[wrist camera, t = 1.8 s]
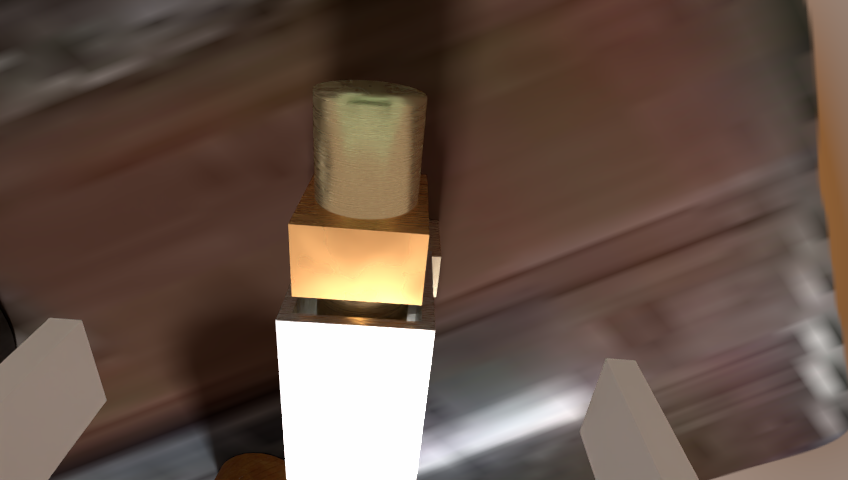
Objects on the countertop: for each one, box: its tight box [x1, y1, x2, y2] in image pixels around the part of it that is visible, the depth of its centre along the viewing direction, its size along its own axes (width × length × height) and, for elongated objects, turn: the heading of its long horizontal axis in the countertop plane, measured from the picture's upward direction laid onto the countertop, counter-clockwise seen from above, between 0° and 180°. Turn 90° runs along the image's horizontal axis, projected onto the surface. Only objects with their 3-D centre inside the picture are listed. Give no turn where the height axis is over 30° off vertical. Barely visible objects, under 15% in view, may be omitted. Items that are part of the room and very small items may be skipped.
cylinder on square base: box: [288, 80, 429, 321], centre depth 22 cm, size 5×20×6 cm, turn 175°
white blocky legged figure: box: [275, 220, 441, 480], centre depth 25 cm, size 7×10×10 cm
